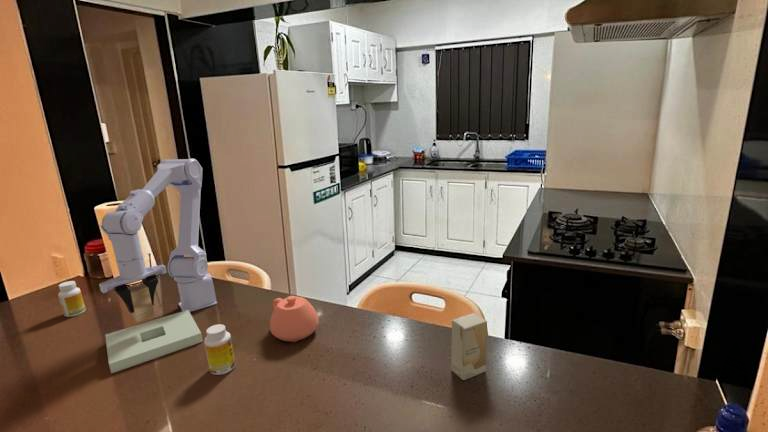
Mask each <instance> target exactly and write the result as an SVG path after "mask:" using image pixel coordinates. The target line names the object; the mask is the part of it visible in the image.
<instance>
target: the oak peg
mask: <svg viewBox="0 0 768 432" xmlns="http://www.w3.org/2000/svg"><path fill="white" fill-rule="evenodd" d="M128 289H129V290H130V295H131V301H132V304H133V308H134V312H133V313H130V314H131V318H133V320H135V321H136V322H137V323H140V322H142V321H144V320H147V319H149V318H152V317H155V316H156V315H155V310H154V305H152V302H151V297H150V293H149V288H148V287H147V286H146V285H144V284H143V282H141V283H138V284H135V285H131V286H129V287H128Z"/></svg>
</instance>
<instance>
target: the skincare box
mask: <svg viewBox="0 0 768 432" xmlns="http://www.w3.org/2000/svg"><path fill="white" fill-rule="evenodd" d="M487 327H488V321H487V320H486V319H485V318H484V317H482V316H481V315H479V314H478V313H476V312H473V313H469V314H466V315H462V316H460V317H456V318H453V319H451V360H450V361H451V366H450V368H451V369H450V370H451V372H453V373H454V374H455V375H456V376H458V377H459V378H460V379H461V380H463V381H465V380H469V379H470V378H473V377H475V376H478V375H481V374H482V373H485V372H486V366H487V364H486V363H487V337H488V336H487V333H488V332H487V329H488V328H487Z"/></svg>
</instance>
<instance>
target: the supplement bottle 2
mask: <svg viewBox="0 0 768 432" xmlns="http://www.w3.org/2000/svg"><path fill="white" fill-rule="evenodd" d="M203 341H204V342H203V343H204V348H205V352H206V357H207V364H208V368H209V372H210V373H211V374H212V375H216V376H221V375H225V374H227V373H229V372H231V371H232V370H233V369H234V368H235V366H236V360H235V353H234V347H233V341H232V336H231V333H230V332H229V331H227V329H226V325H224V324H219V323H218V324H213V325H212V326H209V327H208V328H207V329H206V336H205V338H204V339H203Z"/></svg>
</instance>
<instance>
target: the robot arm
mask: <svg viewBox="0 0 768 432" xmlns="http://www.w3.org/2000/svg"><path fill="white" fill-rule="evenodd" d="M203 170H204V169H203V167H202V166H201V164H200V163H199V161H198V160H197V159H196V158H188V159H187V158H185V159H184V158H183V159H182V158H181V159H180V158H179V159H168V158H166V159H163V160H162V161H161V162H160V163H159V164H157V165H156V172H155V173H154V174H153V175H152V177H151V178H150V179H149V181H147V183H146V184H145V185H144V187H142V188H140V189H138V188H137V189H135V190H131V191H130V192H129V193H128V194H129V196H127V198H125V200H124V201H123V202H122V203H119V204H118V206H117V207H116V209H115V210H109V211H108V212H107V213H105V214H104V215H103V216H102V219H101V225H100V229H101V230H102V232H103V233H104V234H106V235H107V239H108V241H110V242H111V246H112V249H113V255H114V258H115V261H116V265H117V269H118V274H119V275H118V276H115V277H113V278H111V279H108V280H106V281H103V282H101V283H99V284H98V285H99V290H100V292H101V293H102V294H105V293H108V292H109V291H111V290H113V291H114V292H115V293H116V294H117V295H118V296H119V297H120V298H121V300H122V302H124V304H125V306H126V308H127V310H128V312H129V313H130V314H131V313H133V312H134V308H133V304H132V301H131V295H130V290H129V289H128V288H129V287H128V285H130V284H134V283H136V282H139V281H141V283H143V284H144V285H146V286H147V287H148V288H149V293H150V297H151V302H152V306H154V305H155V303H154V302H155V295H156V294H155V293H156V290H157V285H158V284H159V277H157V276H159V275H161V274H162V275H165V274H167V273H168V275H169V276H170V277H171V278H173V280H174V281H175V282H176V283H177V289H178V293H179V298H180V302H178V306H179V308H180V309H181V312H182V311H185V310H189V312H190V313H191V312H194V311H199V310H201V309H204V308H208V307H211V306H215V305H217V304H218V302H217V297H216V291H215V287H214V286H215V285H214V282H213V278H212V276H211V274H210V273H207V272H208V268H209V263H208V261H207V253H206V251H204V249H202V248H201V247H200V246H199V235H200V234H199V233H200V232H199V231H200V209H201V196H202V195H201V191H202V188H203V187H202V186H203V185H202V184H203V183H202V182H203ZM168 186H171V187H173V188H174V189H177V190H178V191H179V193H180V199H179V200H180V201H179V202H180V203H179V225H178V241H177V242H178V243H177V247H175V248H174V249H173V250H171V252H170V255H169V256H170V257H169V259H168V263H167V267H166V265H164V264H158V265H156V266H151V267H149V266H148V267H146V263H145V258H144V254H143V249H142V245H141V242H140V237H139V231H140V230H141V227H142V223H143V221H144V217H145V216H146V215H147V214H148V213H149V212H150V210H152V209H153V207H154V206H155V205H156V200H155V198H156V197H157V196H158V195H159V194H160V193H161V192H162V191H164V190H165V189H166V188H167V187H168Z"/></svg>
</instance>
